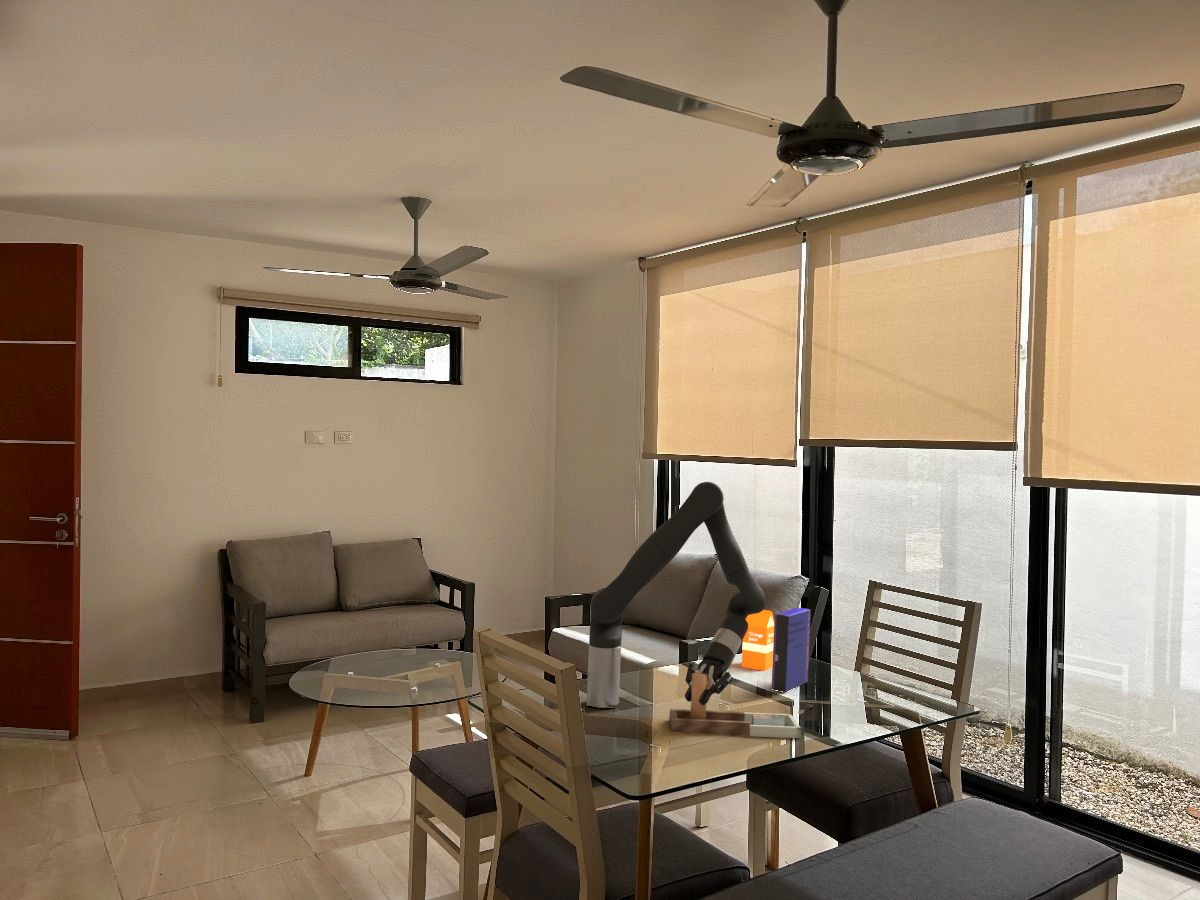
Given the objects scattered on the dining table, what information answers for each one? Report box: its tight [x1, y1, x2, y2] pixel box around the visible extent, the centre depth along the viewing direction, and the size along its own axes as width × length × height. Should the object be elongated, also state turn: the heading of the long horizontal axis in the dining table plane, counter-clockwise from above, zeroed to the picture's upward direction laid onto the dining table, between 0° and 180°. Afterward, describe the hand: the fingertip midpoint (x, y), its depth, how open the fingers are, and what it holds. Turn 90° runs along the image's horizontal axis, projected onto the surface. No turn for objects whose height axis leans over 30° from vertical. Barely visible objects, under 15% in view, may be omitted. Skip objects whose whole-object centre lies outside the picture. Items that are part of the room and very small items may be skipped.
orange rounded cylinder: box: [690, 673, 708, 720], centre depth 238 cm, size 4×4×12 cm
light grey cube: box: [751, 712, 769, 725], centre depth 238 cm, size 4×4×4 cm
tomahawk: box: [797, 703, 813, 715], centre depth 255 cm, size 21×7×1 cm, turn 145°
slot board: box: [668, 708, 751, 737], centre depth 238 cm, size 20×12×4 cm, turn 90°
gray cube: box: [767, 713, 785, 726], centre depth 238 cm, size 4×4×4 cm
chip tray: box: [743, 711, 802, 739], centre depth 238 cm, size 13×12×4 cm
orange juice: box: [741, 609, 774, 672], centre depth 313 cm, size 8×9×20 cm
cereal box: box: [771, 607, 811, 693], centre depth 288 cm, size 17×5×24 cm, turn 145°
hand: (694, 701), depth 237 cm, fingers closed on orange rounded cylinder, 4 cm apart
